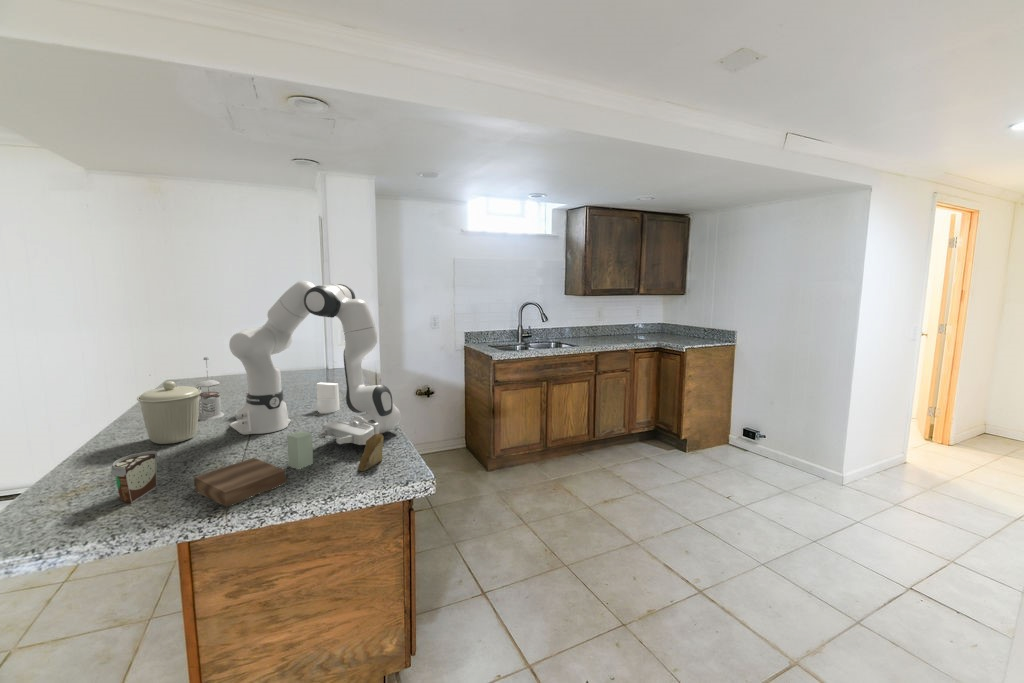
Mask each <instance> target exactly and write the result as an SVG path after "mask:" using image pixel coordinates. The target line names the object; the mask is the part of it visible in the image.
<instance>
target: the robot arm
mask: <svg viewBox="0 0 1024 683" xmlns="http://www.w3.org/2000/svg"><path fill="white" fill-rule="evenodd" d="M310 314H312V315H314V316H317V317H323V318H324V317H325V318H331V319H333V318H338V319H339V321H340V322H341V326H342V330H343V336H344V342H345V344H344V346H345V347H344V350H343V365H344V366H343V368H344V374H345V383H346V394H345V395H346V396H345V401H346V405H347V408H348V409H349V411H351V412H352V413H355V414H359V415H356V416H353V417H352V418H351V420H350V421H347V420H342V419H339V420H334V421H329V422H324V424H322V428H321V429H322V431H320V432H318V433H317V438H318V439H324V438H326V436H327V437H332V438H335V439H336V444H337V445H342V444H350V443H351V444H355V445H358V446H366V441H367V440H368V439H369V438H370V437H372V436H373V435H375V434H379V433H381V434H384V433H387V432H390V431H391V430H393V429H394V428H396V427H397V426H398V425H399V423H400V421H401V412H400V409H399V408H398V407H396V405H395V404H394V401H393V396H392V395H393V394H392V392H391V390H390V389H389V387H387V386H386V385H384V384H377V385H376V384H374V385H365V383H364V378H363V369H362V364H363V363H362V361H363V359H364V358H365V357H366V356H367V354H369V353H370V352H372V351H373V350H374V349H375V347H376V346H377V344H378V332H377V328H376V324H375V321H374V317H373V315H372V312H371V310H370V307H369V305H368V303H367V302H366V301H365V300H364V299H360V298H356V295H355V292H354V289H352V288H351V287H349V286H348V285H345V284H341V283H340V284H338V283H336V284H335V283H329V284H322V285H315V284H314V283H313V282H311V281H309V280H298V281H297V282H296V283H294V284H293V285H291V286H290V287H289V288H288V289H286V291H285V292H284V293H283V294H282V295H281V296H280V297H279V298H278V299H277V300H276V301H275V303H274V304H273V305H272V306H271V307H270V308H269V310H268V311H267V314H266V315H267V316H266V317H267V318H268V319H267V321H266V322H265V324H263V325H262V326H259V327H254V328H253V327H252V328H247V329H244V330H241V331H239V332H237V333H234V334H233V335H232V336H231V338H230V340H229V350H230V352H231V354H232V355H233V356H234V357H235V358H237V359H239V361H240V362H241V363H242V365H243V368H244V370H245V373H246V378H247V389H248V392H247V393H246V395H245V398H246V401H245V403H244V404H243V405H242V406H241V407H240V408H239V409H238V410H237V412H236V414H235V421H232V422H231V423H230V427H231V428H232V429H234V430H235V431H236V432H238V433H239V434H241V435H244V436H245V435H252V434H253V435H255V434H256V435H257V434H258V435H259V434H261V435H262V434H269V433H274V432H278V431H281V430H284V429H286V428H287V427H288V426H289V424H290V423H291V421H292V420H291V419H290V418H289V415H288V409H287V404H286V402H285V401H283V400H284V392H283V389H282V377H281V376H282V373H281V370H280V369H279V367H276V366H275V365H274V364H273V361H272V357H271V356H272V355H276V354H279V353H282V352H283V351H286V350H287V349H288V348H290V346H291V344H292V342H293V336H292V335H293V334H294V332H295V330H296V329H297V328H298V327H299V326H300V324H301V323H302V322H303V321H304V320H305V319H306V318H307V317H308V316H309V315H310ZM361 413H362V414H361Z"/></svg>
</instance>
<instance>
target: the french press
mask: <svg viewBox="0 0 1024 683" xmlns="http://www.w3.org/2000/svg"><path fill="white" fill-rule="evenodd" d="M202 360H203V361H205V364H206V367H208V362H207V361H208V360H210V357H208V356H205V357H203V359H202ZM206 374H207V375H206V376H207V377H206V380H202V381H199V382H198V383H196V384H195V385H196V387H195V388H197V389H199V390H201V391H202V388H207V391H204V392H201V394H199V397H200V398H199V414H198V421H199V420H200V421H207V420H214V419H219V418H221V417H222V418H223V417H224V416H225V413H224V412H222V406H221V404H222V403H221V395H220V394H219V393H220V392H219V391H216V390H212V391H210V387H215V386H219V385H220V382H219V381H218V380H214V379H209V375H208V371H206Z"/></svg>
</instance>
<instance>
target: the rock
mask: <svg viewBox="0 0 1024 683" xmlns="http://www.w3.org/2000/svg"><path fill="white" fill-rule="evenodd" d="M384 439H385V438H384V435H383V433H379V434H375V435H373V436H372V437H370V438H369V439H368V440H367V441H366V444H365V447H364V449H363V453H362V455H361V456H360V460H359V463H358V467H357V471H360V472H365V471H366V470H368V469H370V468H372V467H373V466H376V465H377V464H378V463H380V462H381V461H382V460H383V448H384Z"/></svg>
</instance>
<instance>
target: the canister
mask: <svg viewBox="0 0 1024 683" xmlns="http://www.w3.org/2000/svg"><path fill="white" fill-rule="evenodd" d="M176 385H177V384H176V382H174V381H173V380H168V381H165V382H164V383H163V384H162V387H160V388H155V389H151V390H148V391H145V392H143V393H142V394H141V395H140V394H139V396H137V397H136V401H137V402H139V405H140V409H141V412H142V417H143V421H144V426H145V429H146V433H147V436H148V438H149V440H150V441H151V443H152V442H153V443H154V444H158V445H169V444H177V443H181V442H185V441H187V440H190V439H192V438H193V437H194V436H195V435H196V434H197V432H198V425H199V420H198V415H199V399H200V396H199V394H201V393H203V391H202V389H201V390H200V388H198V389H197V388H196V387H195V386H187V385H178V386H176Z"/></svg>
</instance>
